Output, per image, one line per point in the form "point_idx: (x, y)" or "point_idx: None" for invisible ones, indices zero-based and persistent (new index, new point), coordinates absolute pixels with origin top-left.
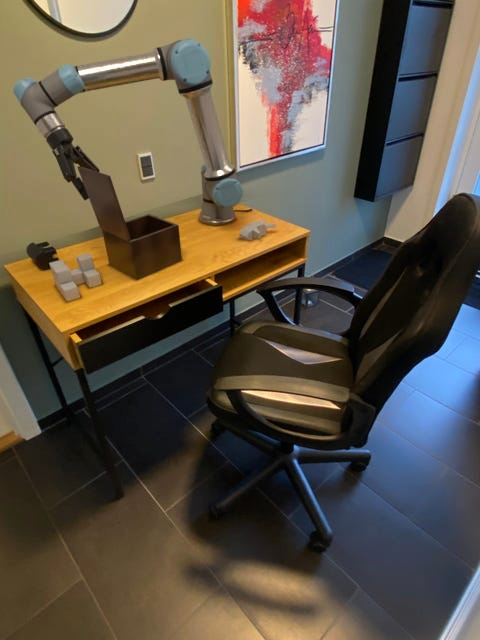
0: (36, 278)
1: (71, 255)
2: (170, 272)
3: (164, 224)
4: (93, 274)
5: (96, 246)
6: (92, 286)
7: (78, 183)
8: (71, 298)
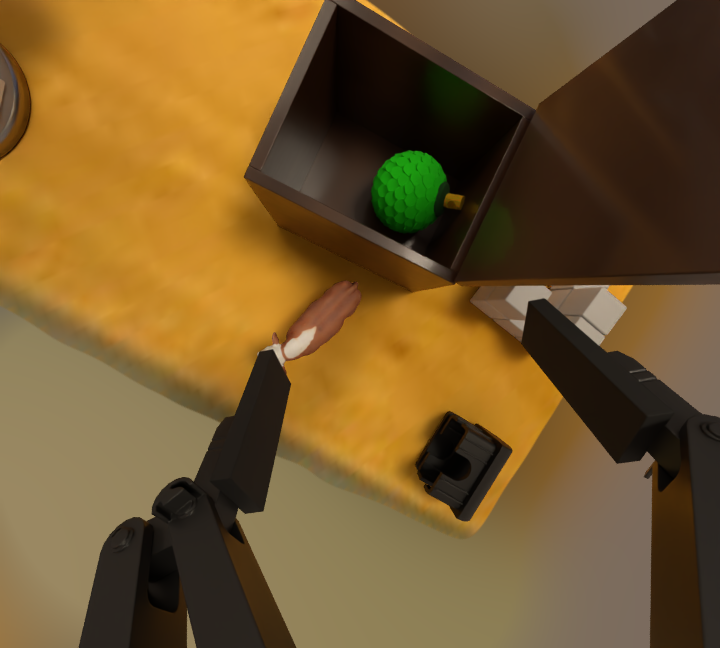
0: (516, 418)
1: (390, 421)
2: None
3: (309, 81)
4: None
5: (320, 393)
6: None
7: (646, 380)
8: None
